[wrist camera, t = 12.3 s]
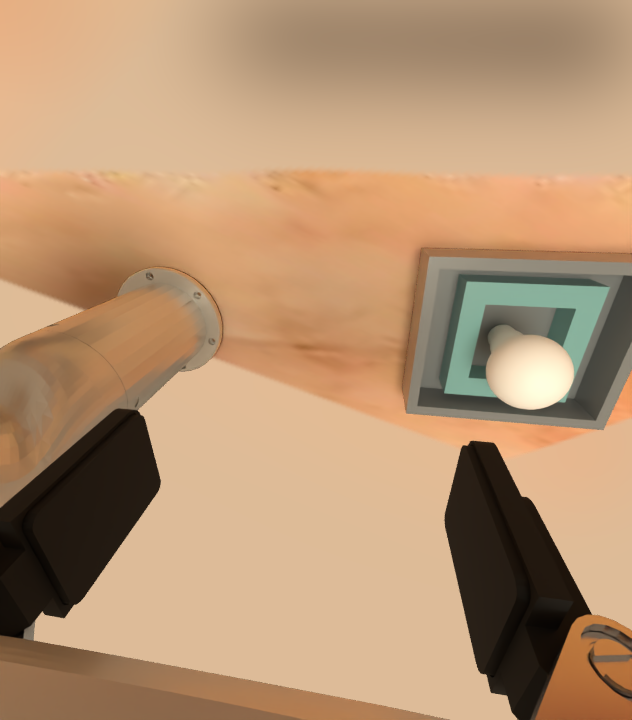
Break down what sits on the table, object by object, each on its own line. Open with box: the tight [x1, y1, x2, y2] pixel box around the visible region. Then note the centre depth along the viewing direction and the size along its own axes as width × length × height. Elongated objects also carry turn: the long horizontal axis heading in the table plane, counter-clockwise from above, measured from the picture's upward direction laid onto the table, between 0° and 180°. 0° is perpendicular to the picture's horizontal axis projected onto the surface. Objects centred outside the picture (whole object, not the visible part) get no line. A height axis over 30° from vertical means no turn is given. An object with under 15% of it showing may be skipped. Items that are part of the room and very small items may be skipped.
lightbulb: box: [486, 325, 574, 410], centre depth 30 cm, size 6×6×11 cm
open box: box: [402, 248, 632, 430], centre depth 34 cm, size 19×16×5 cm
